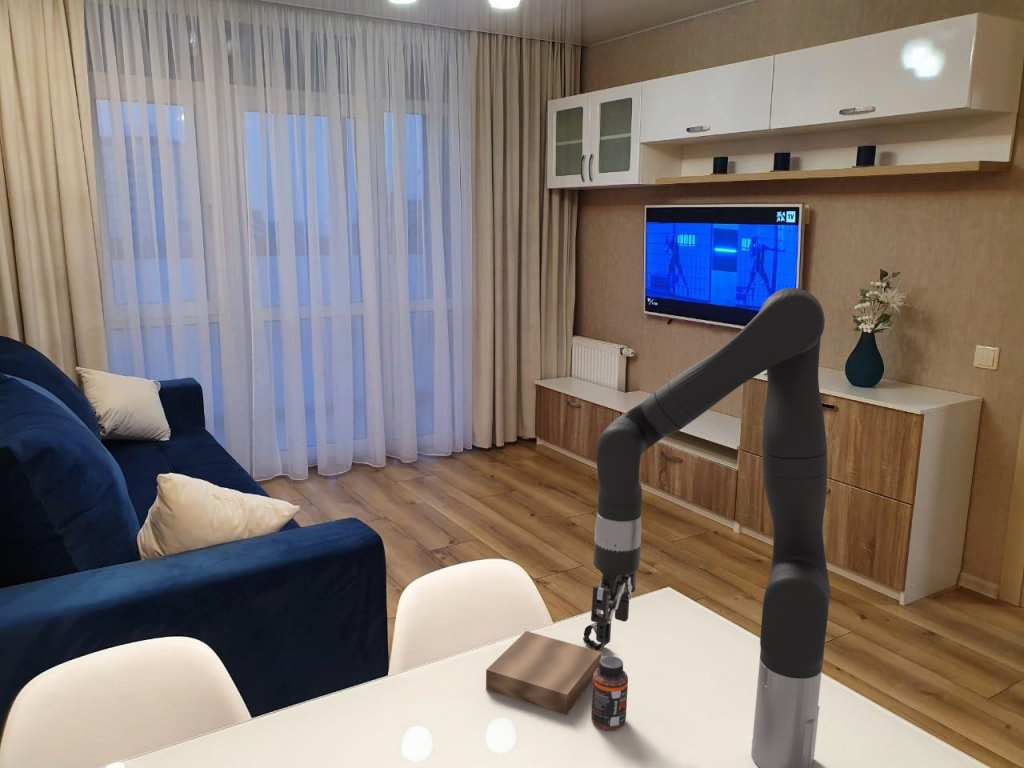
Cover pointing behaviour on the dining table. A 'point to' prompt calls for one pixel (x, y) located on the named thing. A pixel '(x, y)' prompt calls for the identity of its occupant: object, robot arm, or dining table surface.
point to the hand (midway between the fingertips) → (612, 630)
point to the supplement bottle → (609, 694)
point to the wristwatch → (587, 640)
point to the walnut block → (543, 672)
